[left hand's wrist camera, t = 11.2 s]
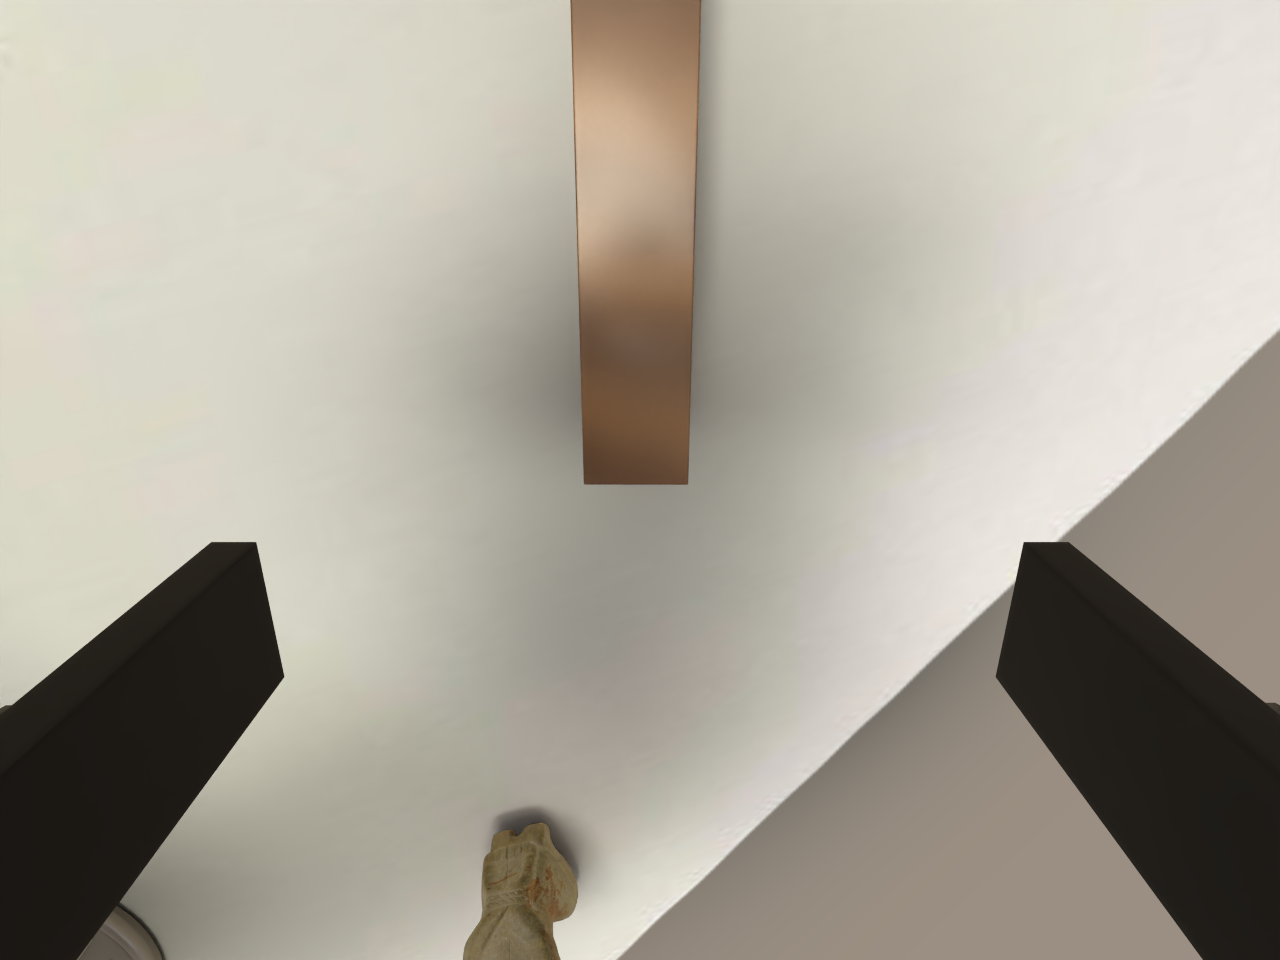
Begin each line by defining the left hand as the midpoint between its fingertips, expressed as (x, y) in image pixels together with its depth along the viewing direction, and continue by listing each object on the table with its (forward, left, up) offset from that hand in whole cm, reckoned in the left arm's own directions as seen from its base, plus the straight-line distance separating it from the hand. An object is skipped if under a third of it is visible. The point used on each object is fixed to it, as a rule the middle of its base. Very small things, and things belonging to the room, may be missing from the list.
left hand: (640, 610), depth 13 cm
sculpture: (-31, -14, -25) cm, 42 cm away
